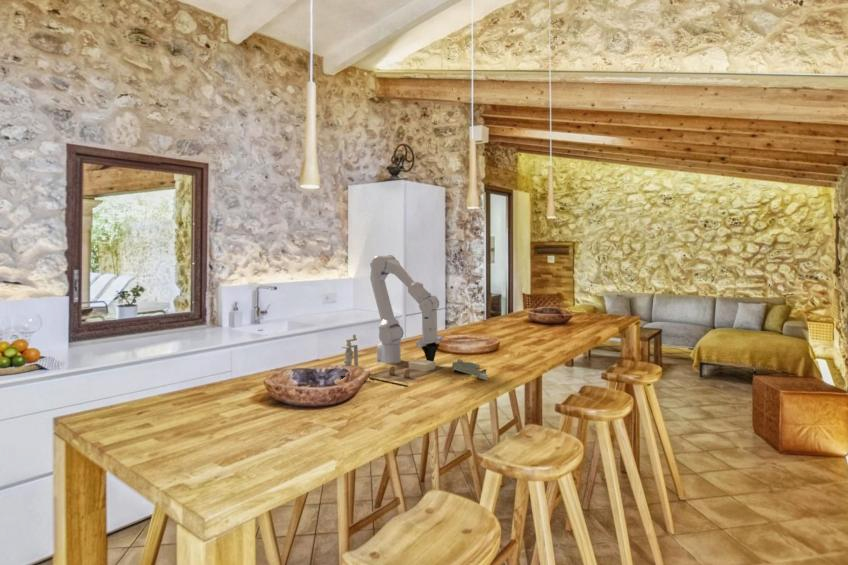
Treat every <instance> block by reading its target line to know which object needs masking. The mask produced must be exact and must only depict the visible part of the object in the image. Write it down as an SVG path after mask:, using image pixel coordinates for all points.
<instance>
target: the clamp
mask: <svg viewBox="0 0 848 565" xmlns="http://www.w3.org/2000/svg"><path fill="white" fill-rule="evenodd" d="M356 336H357V335H356V334H352V338H351V337H350V338H348V339H347V338H346V340H345V342H346V344H345V345H342V346H341V349H345V351H344V354H345V355H344V356H345V357H344V361H343V366H342V367H344V366H351V367H352V362H353V365H354V366H358V367H359V354H358V351H359V350H358V344H352V343H351V342H354V341H357V340H358V338H357V337H356Z"/></svg>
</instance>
